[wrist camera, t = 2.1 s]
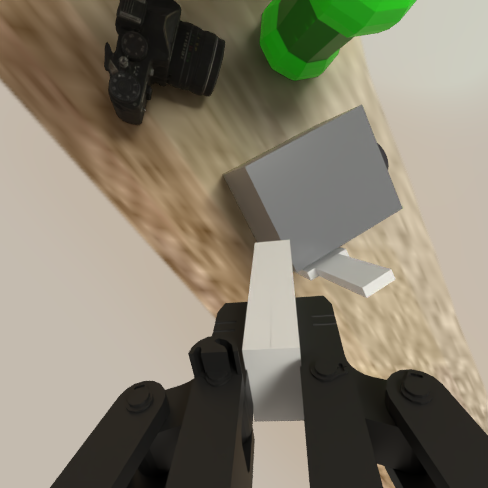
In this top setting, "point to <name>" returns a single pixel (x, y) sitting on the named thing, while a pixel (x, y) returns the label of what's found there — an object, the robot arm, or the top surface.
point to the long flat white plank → (349, 272)
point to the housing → (317, 188)
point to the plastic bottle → (320, 30)
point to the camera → (158, 55)
